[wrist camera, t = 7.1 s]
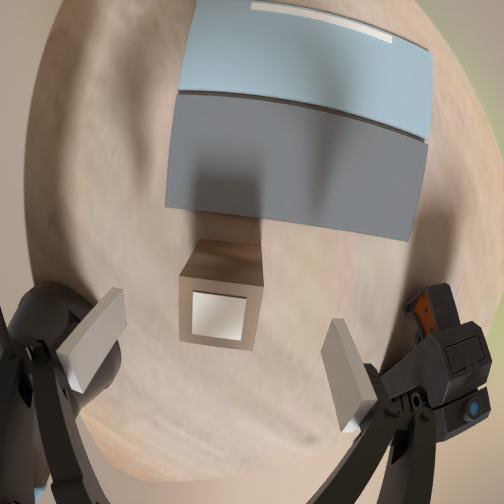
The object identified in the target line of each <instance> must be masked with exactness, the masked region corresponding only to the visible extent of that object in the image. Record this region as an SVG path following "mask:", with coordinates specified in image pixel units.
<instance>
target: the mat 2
mask: <svg viewBox="0 0 504 504" xmlns="http://www.w3.org/2000/svg"><path fill="white" fill-rule="evenodd" d="M427 150H428V144H426V143H423V142H421V141H418V140H416V139H413V138H410V137H408V136H405V135H402V134H399V133H397V132H394V131H391V130H388V129H385V128H382V127H379V126H375V125H372V124H369V123H366V122H362V121H359V120H355V119H351V118H348V117H344V116H340V115H336V114H332V113H328V112H323V111H319V110H314V109H309V108H304V107H299V106H294V105H288V104H282V103H276V102H269V101H262V100H254V99H245V98H235V97H223V96H207V95H177V96H176V102H175V109H174V116H173V124H172V132H171V140H170V149H169V159H168V170H167V182H166V197H165V207H168V208H177V209H187V210H196V211H205V212H214V213H222V214H231V215H239V216H246V217H254V218H262V219H269V220H276V221H284V222H291V223H297V224H304V225H311V226H317V227H324V228H330V229H337V230H343V231H349V232H355V233H361V234H367V235H372V236H378V237H384V238H389V239H395V240H400V241H405V242H409V238H410V234H411V231H412V227H413V223H414V219H415V215H416V210H417V206H418V201H419V197H420V192H421V187H422V181H423V176H424V170H425V164H426V157H427Z"/></svg>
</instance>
